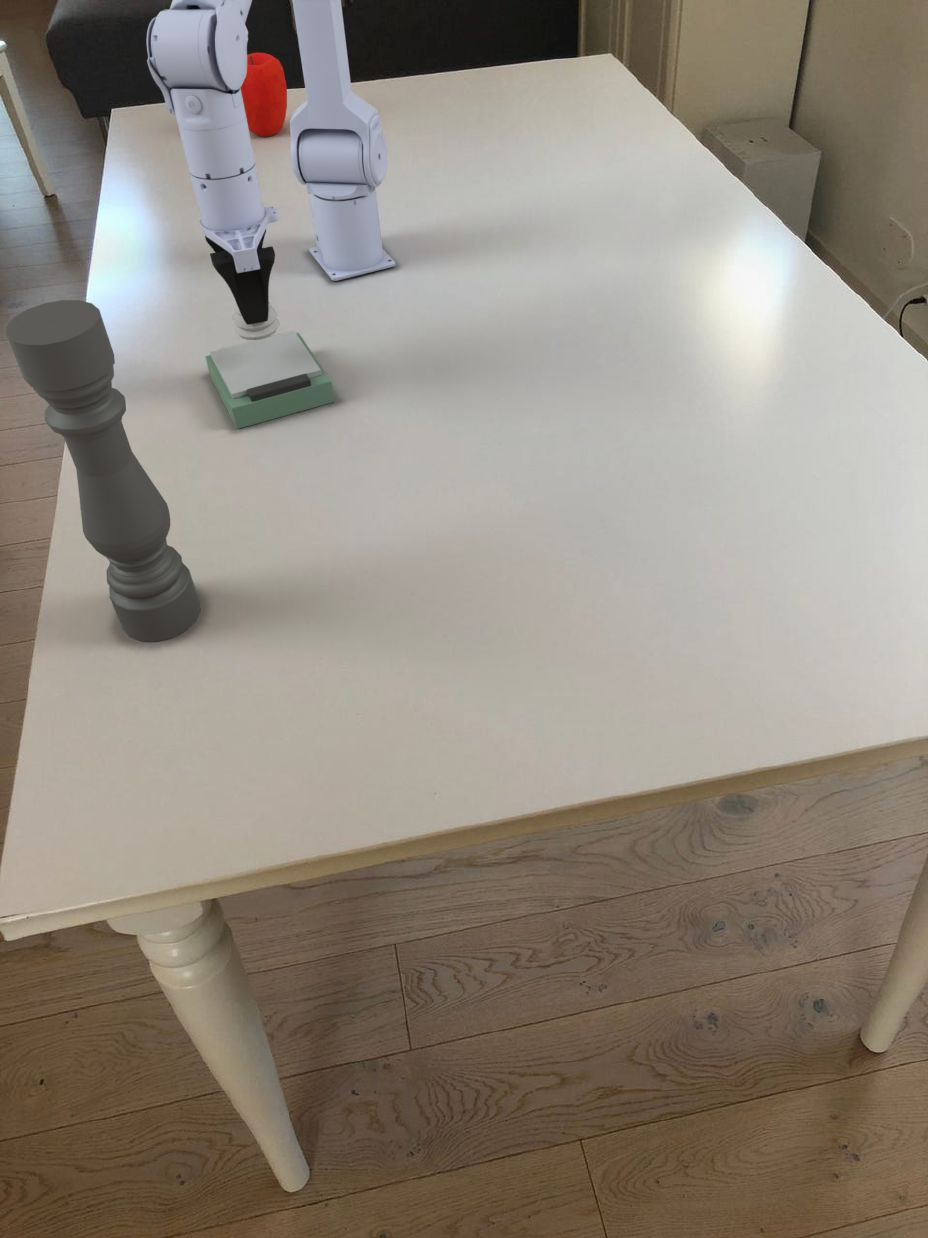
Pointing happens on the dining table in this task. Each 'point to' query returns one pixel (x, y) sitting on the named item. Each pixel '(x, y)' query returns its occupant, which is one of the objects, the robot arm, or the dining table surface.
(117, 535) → the candle holder
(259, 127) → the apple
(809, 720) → the dining table surface
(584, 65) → the dining table surface
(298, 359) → the scale
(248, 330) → the rook chess piece
